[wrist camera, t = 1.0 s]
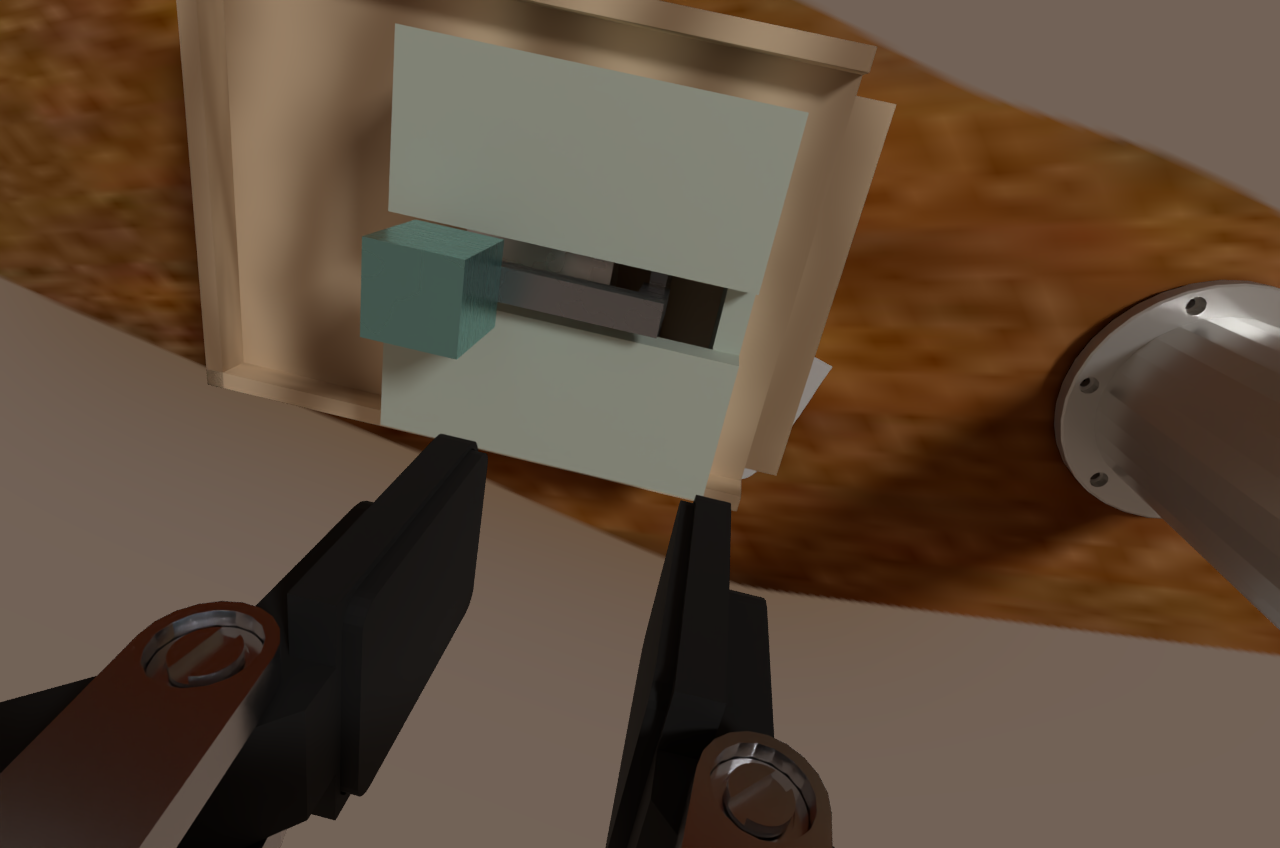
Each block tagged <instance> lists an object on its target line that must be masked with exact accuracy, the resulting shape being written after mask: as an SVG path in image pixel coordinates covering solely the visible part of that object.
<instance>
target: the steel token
mask: <svg viewBox="0 0 1280 848" xmlns="http://www.w3.org/2000/svg"><path fill="white" fill-rule="evenodd" d="M467 231H469V232H473V233H477V234H482V235H486V236H491V237H495V238H499V239H504V247H503V257H502V261H505V262H510V263H514V264H519V265H523V266H527V267H532V268H536V269H540V270H545V271H549V272H554V273H558V274H562V275H567V276H571V277H575V278H580V279H584V280H589V281H593V282H597V283H602V284H606V285H610V286H615V287H616V282H617V277H618V271H619V266H620V264H619V263H615V262H610V261H606V260H601V259H597V258H593V257H588V256H584V255H579V254H575V253H571V252H566V251H562V250H557V249H553V248H548V247H544V246H540V245H535V244H531V243H526V242H522V241H518V240H513V239H509V238H504V237H500V236H496V235H491V234H487V233H482V232H478V231H474V230H469V229H467Z"/></svg>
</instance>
